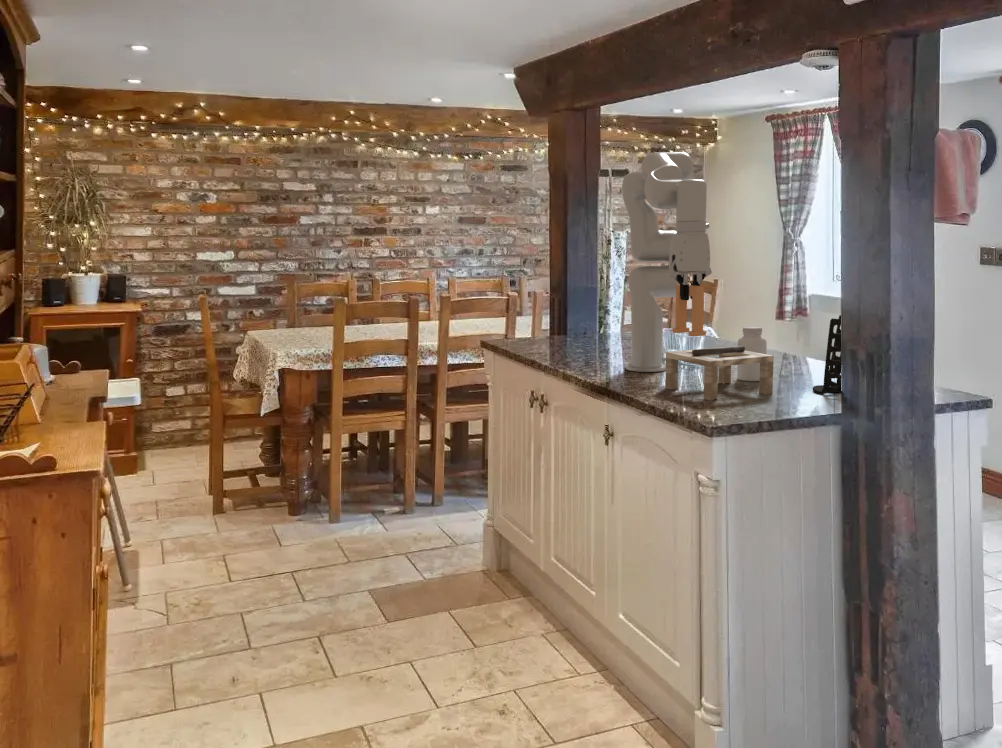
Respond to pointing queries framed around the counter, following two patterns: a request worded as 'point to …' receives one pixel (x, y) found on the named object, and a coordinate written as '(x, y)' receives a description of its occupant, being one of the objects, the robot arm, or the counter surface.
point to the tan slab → (697, 311)
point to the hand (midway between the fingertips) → (689, 299)
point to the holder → (832, 361)
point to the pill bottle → (754, 344)
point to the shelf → (724, 363)
